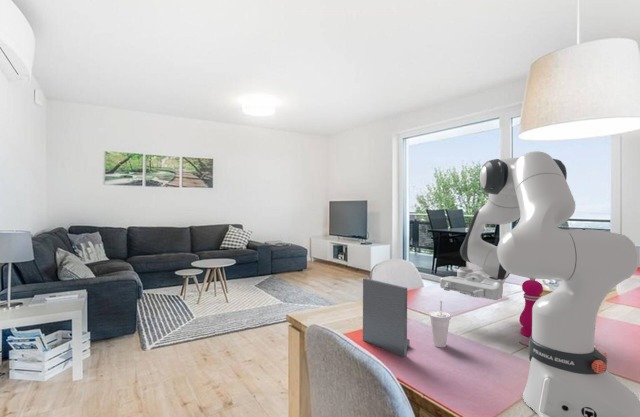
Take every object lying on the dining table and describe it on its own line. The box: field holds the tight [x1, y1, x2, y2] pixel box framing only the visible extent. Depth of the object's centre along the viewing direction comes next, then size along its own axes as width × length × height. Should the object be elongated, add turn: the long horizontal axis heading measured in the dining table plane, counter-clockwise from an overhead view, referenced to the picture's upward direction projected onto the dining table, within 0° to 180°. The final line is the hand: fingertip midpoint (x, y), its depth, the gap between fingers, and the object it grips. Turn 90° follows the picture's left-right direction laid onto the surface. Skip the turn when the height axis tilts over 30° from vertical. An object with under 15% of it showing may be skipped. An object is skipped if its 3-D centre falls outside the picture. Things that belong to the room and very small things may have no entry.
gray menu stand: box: [362, 277, 411, 358], centre depth 105 cm, size 16×8×20 cm, turn 41°
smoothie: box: [428, 300, 451, 348], centre depth 105 cm, size 6×6×14 cm
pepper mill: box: [518, 278, 544, 338], centre depth 113 cm, size 7×7×20 cm
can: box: [456, 266, 474, 278], centre depth 166 cm, size 8×8×12 cm
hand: (458, 291), depth 113 cm, fingers open, 8 cm apart
